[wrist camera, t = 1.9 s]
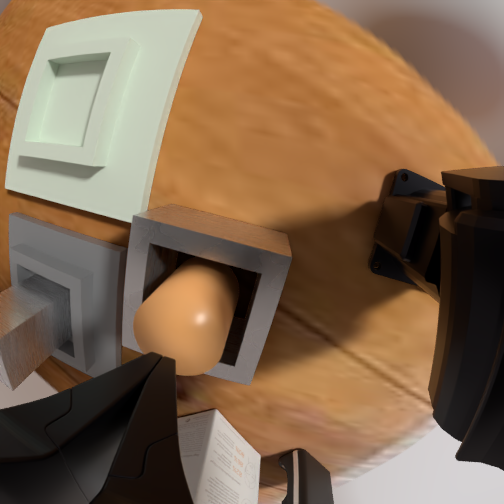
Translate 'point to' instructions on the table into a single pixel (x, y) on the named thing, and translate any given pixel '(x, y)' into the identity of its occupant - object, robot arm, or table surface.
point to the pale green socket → (99, 109)
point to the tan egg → (189, 315)
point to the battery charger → (306, 479)
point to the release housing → (217, 249)
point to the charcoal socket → (76, 287)
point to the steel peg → (31, 326)
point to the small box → (217, 460)
